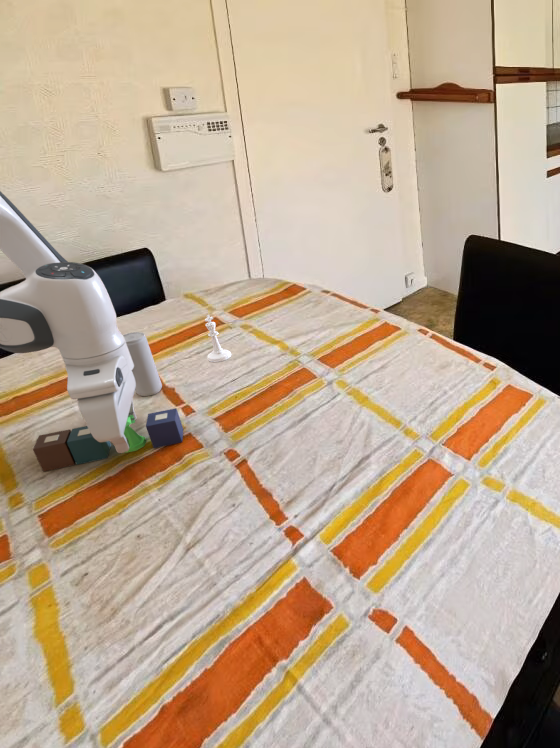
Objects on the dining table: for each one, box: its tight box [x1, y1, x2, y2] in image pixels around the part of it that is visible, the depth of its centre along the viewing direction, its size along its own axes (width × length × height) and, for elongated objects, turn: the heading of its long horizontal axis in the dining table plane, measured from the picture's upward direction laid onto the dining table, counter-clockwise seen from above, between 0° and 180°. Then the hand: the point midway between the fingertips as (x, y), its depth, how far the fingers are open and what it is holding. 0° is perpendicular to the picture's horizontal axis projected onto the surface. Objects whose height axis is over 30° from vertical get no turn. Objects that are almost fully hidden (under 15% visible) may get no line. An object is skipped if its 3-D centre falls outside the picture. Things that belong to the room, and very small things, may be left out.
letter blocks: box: [32, 408, 184, 472], centre depth 106 cm, size 21×4×5 cm, turn 112°
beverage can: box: [122, 331, 163, 397], centre depth 122 cm, size 5×5×12 cm
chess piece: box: [204, 314, 232, 363], centre depth 136 cm, size 5×5×10 cm
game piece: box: [124, 417, 147, 454], centre depth 106 cm, size 4×4×6 cm
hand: (127, 435), depth 106 cm, fingers open, 8 cm apart
